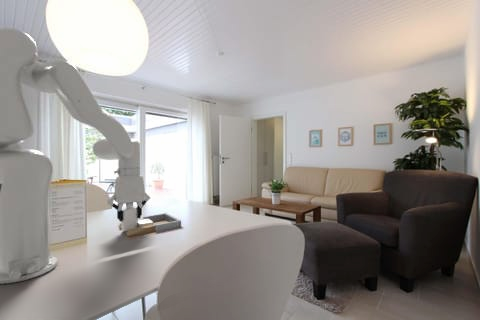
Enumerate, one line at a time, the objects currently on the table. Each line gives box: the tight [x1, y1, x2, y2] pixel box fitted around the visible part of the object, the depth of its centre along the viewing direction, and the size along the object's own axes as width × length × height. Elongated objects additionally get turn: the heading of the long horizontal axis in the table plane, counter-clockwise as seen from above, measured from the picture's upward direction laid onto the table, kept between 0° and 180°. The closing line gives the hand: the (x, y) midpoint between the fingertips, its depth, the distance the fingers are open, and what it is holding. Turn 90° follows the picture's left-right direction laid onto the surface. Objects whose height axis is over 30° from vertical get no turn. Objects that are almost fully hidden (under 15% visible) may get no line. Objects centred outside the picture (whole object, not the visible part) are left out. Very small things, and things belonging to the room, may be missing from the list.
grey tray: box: [142, 212, 182, 232], centre depth 95 cm, size 16×10×2 cm, turn 40°
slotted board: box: [117, 218, 185, 240], centre depth 92 cm, size 20×20×3 cm
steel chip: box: [138, 219, 153, 228], centre depth 91 cm, size 6×5×3 cm
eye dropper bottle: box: [120, 202, 139, 232], centre depth 87 cm, size 4×6×12 cm
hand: (129, 218), depth 87 cm, fingers closed on eye dropper bottle, 5 cm apart
